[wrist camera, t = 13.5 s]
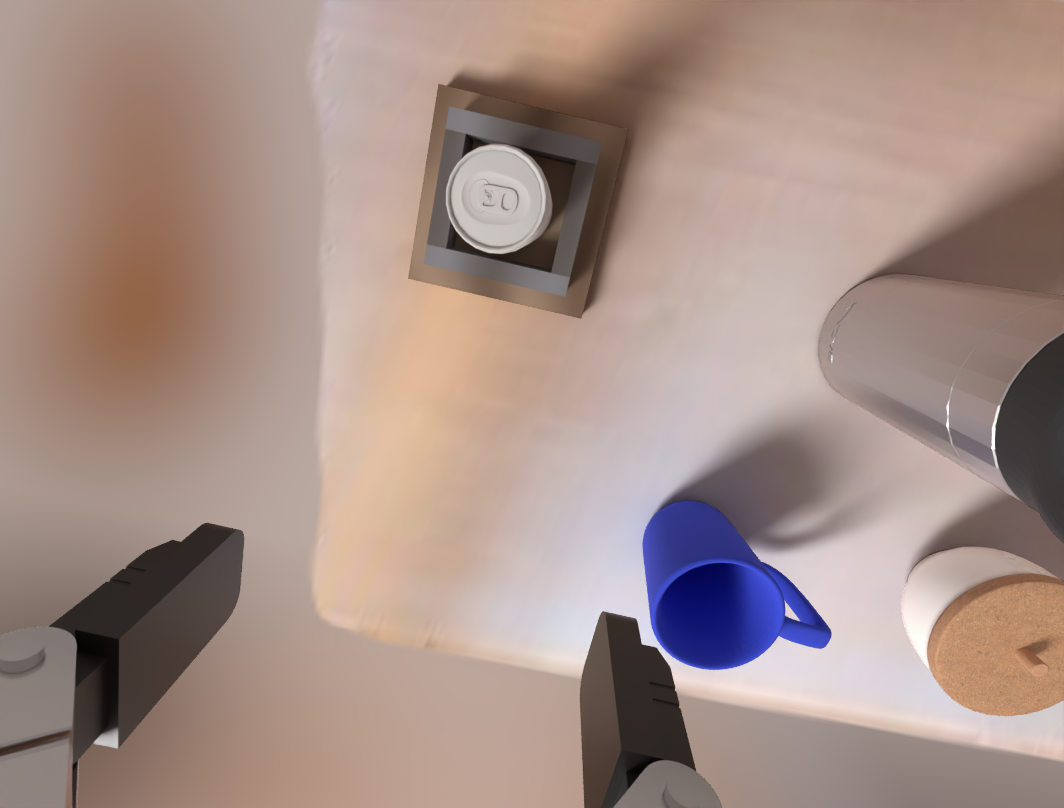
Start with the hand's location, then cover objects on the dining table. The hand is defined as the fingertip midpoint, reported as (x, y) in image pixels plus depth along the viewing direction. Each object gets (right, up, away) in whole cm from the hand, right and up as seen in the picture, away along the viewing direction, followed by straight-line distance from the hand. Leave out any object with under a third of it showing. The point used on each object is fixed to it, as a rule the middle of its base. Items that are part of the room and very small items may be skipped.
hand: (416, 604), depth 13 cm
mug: (+16, -6, +33) cm, 37 cm away
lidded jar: (+35, -10, +33) cm, 49 cm away
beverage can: (+2, +17, +25) cm, 30 cm away
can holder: (+1, +18, +26) cm, 31 cm away
